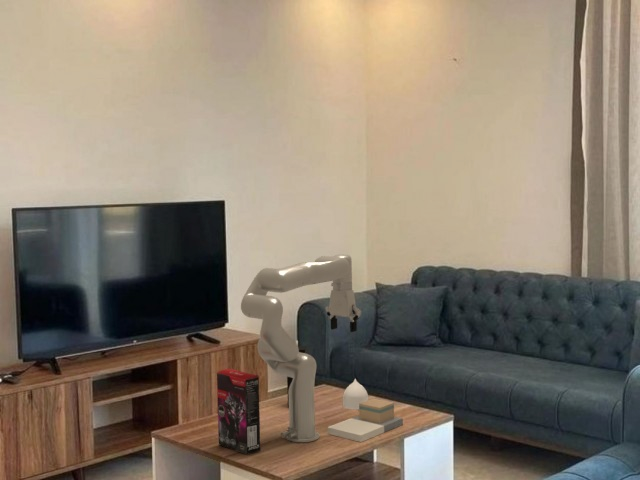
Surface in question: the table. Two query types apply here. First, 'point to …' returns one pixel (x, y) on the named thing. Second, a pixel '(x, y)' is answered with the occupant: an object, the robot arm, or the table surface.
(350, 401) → the teardrop
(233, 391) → the graphics card box
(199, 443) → the table surface
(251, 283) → the robot arm
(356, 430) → the grey and cream slab
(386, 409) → the carton
